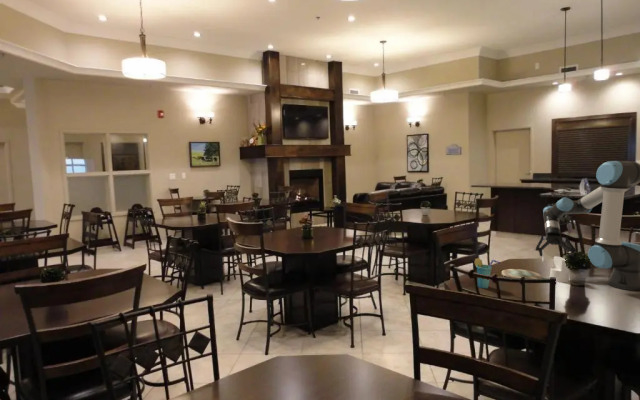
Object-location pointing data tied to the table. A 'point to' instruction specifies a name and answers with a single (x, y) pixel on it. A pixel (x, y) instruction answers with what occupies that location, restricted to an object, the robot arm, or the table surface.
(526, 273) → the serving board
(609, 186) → the robot arm
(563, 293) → the table surface
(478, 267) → the cup
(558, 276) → the base with upright slab
